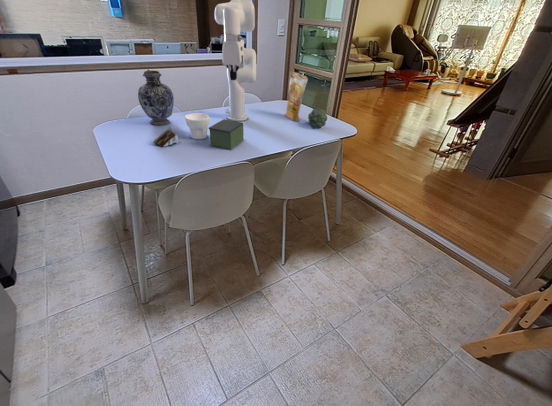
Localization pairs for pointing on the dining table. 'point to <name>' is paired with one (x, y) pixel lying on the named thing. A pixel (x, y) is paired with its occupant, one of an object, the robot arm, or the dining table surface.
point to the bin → (226, 138)
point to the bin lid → (226, 126)
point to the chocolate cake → (166, 138)
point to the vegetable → (317, 118)
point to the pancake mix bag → (295, 94)
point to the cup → (197, 124)
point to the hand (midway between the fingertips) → (233, 79)
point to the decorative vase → (156, 98)
